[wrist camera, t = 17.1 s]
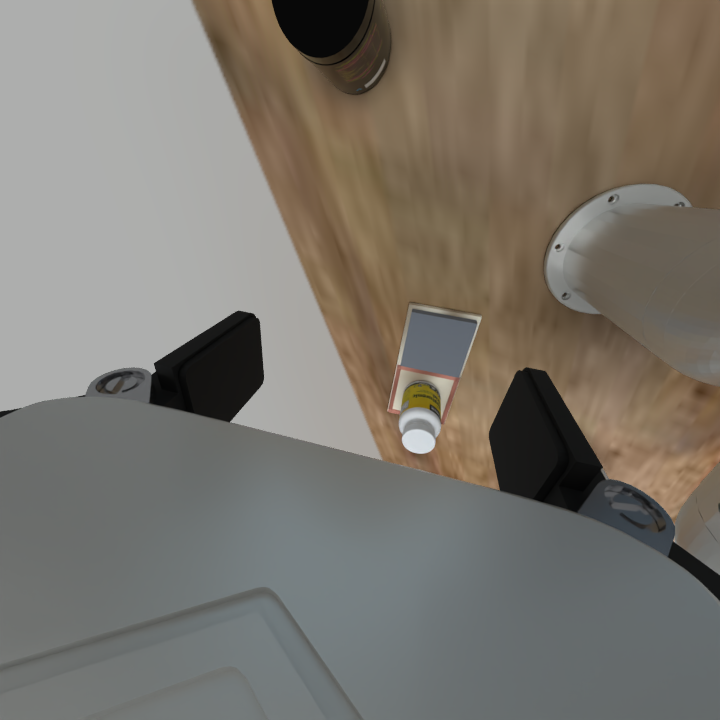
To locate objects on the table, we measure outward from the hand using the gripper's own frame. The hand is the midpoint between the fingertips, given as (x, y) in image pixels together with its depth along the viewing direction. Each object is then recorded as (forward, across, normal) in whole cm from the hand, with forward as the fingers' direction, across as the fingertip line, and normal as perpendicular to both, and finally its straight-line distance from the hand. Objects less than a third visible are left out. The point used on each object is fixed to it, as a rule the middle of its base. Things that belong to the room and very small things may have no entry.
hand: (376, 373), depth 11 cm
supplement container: (+28, +9, -16) cm, 34 cm away
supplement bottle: (+28, -5, +20) cm, 35 cm away
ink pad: (+28, -5, +12) cm, 30 cm away
